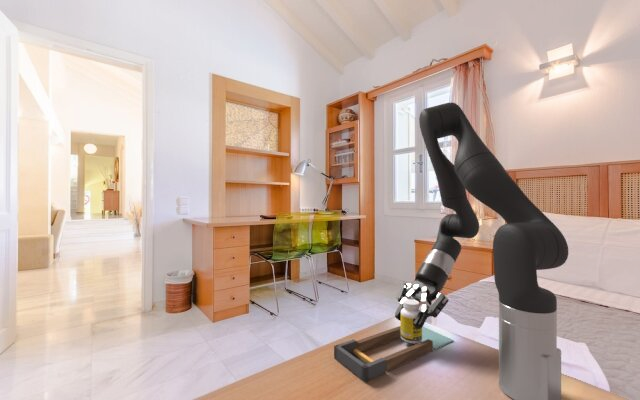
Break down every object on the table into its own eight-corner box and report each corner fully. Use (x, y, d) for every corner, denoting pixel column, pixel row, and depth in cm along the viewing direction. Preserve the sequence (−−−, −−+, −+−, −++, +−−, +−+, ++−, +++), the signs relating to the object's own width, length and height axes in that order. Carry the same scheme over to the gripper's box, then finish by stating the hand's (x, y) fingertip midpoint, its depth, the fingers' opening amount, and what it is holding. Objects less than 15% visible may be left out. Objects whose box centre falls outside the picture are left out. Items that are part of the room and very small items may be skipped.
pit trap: (385, 373, 64) (385, 359, 64) (364, 382, 60) (364, 368, 60) (353, 351, 73) (353, 339, 73) (334, 358, 70) (334, 345, 70)
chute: (432, 351, 73) (432, 341, 73) (386, 371, 64) (386, 360, 64) (400, 334, 82) (400, 325, 82) (356, 351, 73) (356, 341, 73)
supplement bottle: (414, 346, 73) (414, 307, 72) (396, 338, 77) (396, 301, 77) (426, 339, 76) (426, 301, 76) (408, 332, 80) (407, 296, 80)
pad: (453, 341, 78) (453, 339, 78) (434, 349, 74) (434, 348, 74) (422, 327, 86) (422, 326, 86) (403, 334, 82) (403, 333, 82)
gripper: (408, 257, 86) (379, 306, 80) (453, 266, 74) (423, 325, 68) (420, 272, 89) (392, 320, 83) (465, 284, 77) (437, 341, 71)
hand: (406, 322), depth 75 cm, fingers closed on supplement bottle, 5 cm apart
